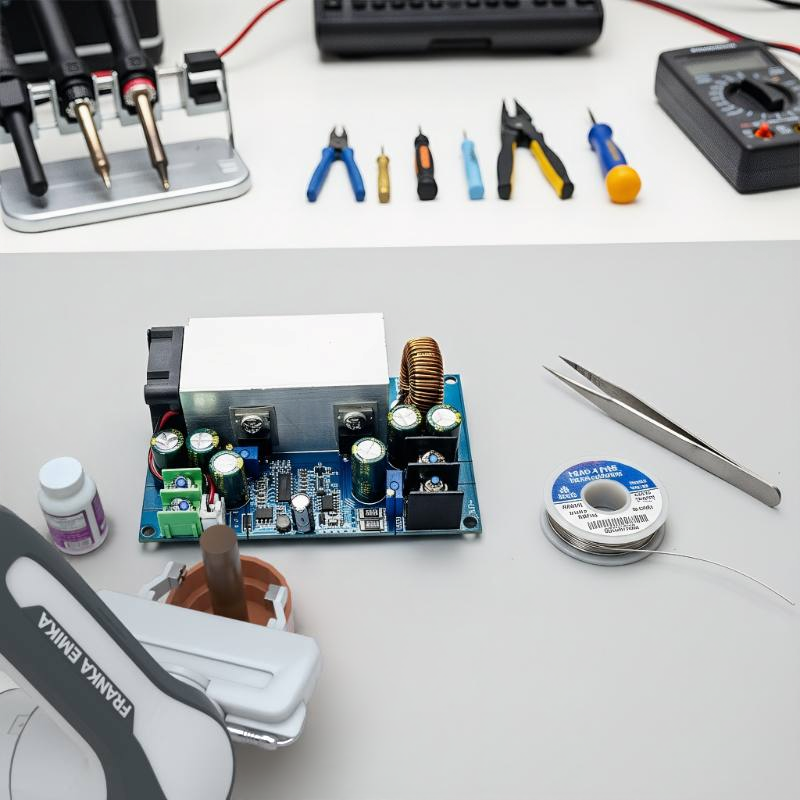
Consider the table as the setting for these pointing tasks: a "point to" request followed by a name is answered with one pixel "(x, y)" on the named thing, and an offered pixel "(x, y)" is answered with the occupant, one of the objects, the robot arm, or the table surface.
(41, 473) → the pill bottle
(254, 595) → the bowl
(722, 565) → the table surface
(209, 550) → the stirring stick
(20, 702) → the robot arm
